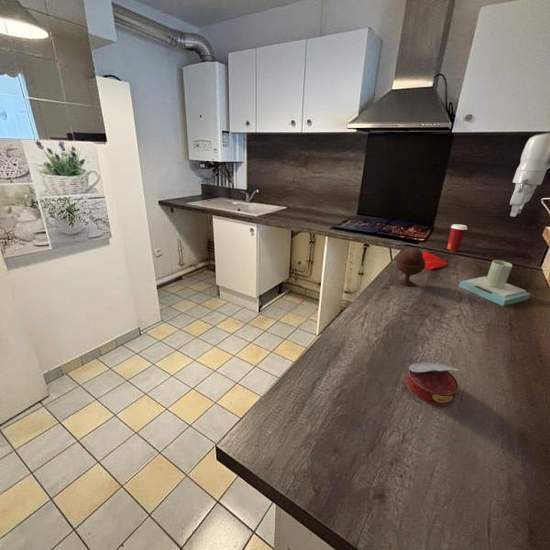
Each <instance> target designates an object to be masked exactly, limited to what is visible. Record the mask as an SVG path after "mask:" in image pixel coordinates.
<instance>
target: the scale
mask: <svg viewBox="0 0 550 550" xmlns="http://www.w3.org/2000/svg"><path fill="white" fill-rule="evenodd" d="M486 278H487V275H486V276H485V275H483V276H480V277H474V278H470V279H465V280H459V281H460V282H459V285H458V287H459V288H460V289H463V290H465V291H467V292H469V293H473V294H474V295H477V296H479V297H481V298H483V299H485V300H489V301H490V302H492V303H495V304H497V305H499V306H502V307H505V306H510V305H513V304H517V303H520V302H524V301H528V300H529V299H530V297H531V293H530V292H527V291H526V290H525V289H523V288H520V287H518V286H515V285H512V284H510V283H507V282H506V284H505V286H504V288H502V289H498V288H493V287H490V286H488V285H486V284H485V281H486Z"/></svg>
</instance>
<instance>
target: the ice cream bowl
mask: <svg viewBox="0 0 550 550" xmlns="http://www.w3.org/2000/svg"><path fill="white" fill-rule="evenodd" d="M395 265H396V268H397V269H398V270H399V271H400V272H401V273H402V274H404V278H402V279H399V281H398V284H399V285H400V286H404V287H413V286H414V282H413V281H411V280H410V277H411V276H414V275H418V274H420V273H422V272H423V271H424V270H425V265H426V263H425V260H424V258H423V252H422V251H421V249H419V248H411V249H410V250H406V251H402V252H401V253H400V254H399V255H398V257H397V258H396V259H395Z"/></svg>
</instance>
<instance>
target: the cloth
mask: <svg viewBox="0 0 550 550" xmlns="http://www.w3.org/2000/svg"><path fill="white" fill-rule="evenodd" d="M422 253H423V258H424V260H425V263H426V265H425V268H424V270H431V271H432V270H436V269H439V268H443V267H446V266H448V262H447V261H445V260H444V259H441V258H440V257H439V256H436V255H434V254H431V252H429V251H423V252H422Z"/></svg>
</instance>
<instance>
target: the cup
mask: <svg viewBox="0 0 550 550" xmlns="http://www.w3.org/2000/svg"><path fill="white" fill-rule="evenodd" d="M512 268H513V264H512V263H511V262H508V261H504V260H499V259H497V260H492V262H491V264H490V267H489V270H488V272H487V275H486V276H487V278H486V281H485V284H486V285H488V286H490V287H493V288H498V289H502V288H504V286H505V284H506V283H507V282H508V279H509V276H510V274H511V271H512Z"/></svg>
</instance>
